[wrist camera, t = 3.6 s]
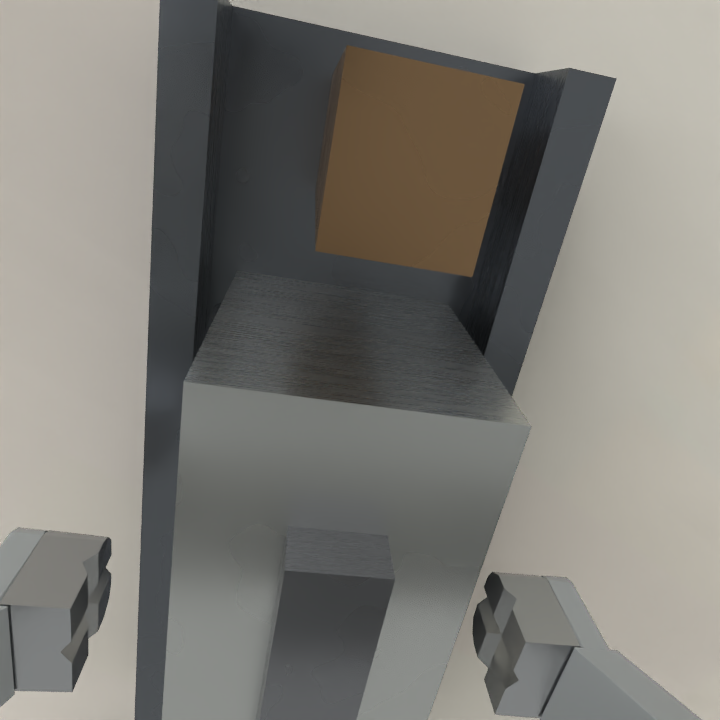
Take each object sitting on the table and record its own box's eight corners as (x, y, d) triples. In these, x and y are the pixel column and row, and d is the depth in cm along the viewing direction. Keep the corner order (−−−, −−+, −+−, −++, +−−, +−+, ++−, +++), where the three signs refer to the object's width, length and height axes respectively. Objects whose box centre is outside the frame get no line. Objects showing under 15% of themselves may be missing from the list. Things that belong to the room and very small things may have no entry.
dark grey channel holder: (205, 13, 11) (54, -117, 5) (536, 86, 12) (787, 61, 6) (162, 689, 19) (84, 985, 12) (364, 700, 20) (388, 979, 13)
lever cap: (237, 270, 11) (166, 415, 6) (447, 303, 12) (555, 462, 6) (205, 599, 15) (142, 874, 9) (368, 612, 15) (395, 876, 10)
